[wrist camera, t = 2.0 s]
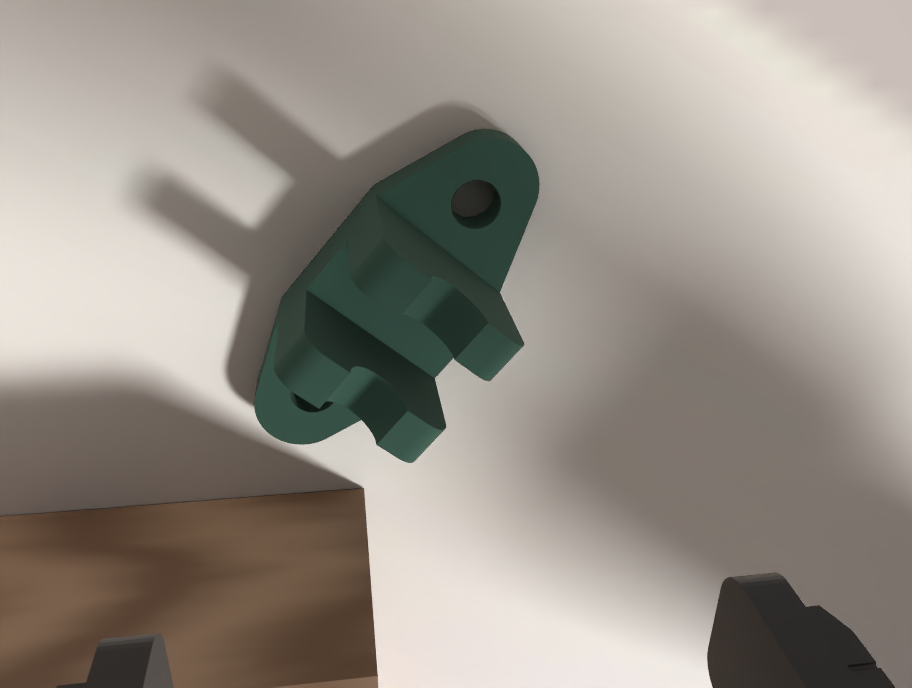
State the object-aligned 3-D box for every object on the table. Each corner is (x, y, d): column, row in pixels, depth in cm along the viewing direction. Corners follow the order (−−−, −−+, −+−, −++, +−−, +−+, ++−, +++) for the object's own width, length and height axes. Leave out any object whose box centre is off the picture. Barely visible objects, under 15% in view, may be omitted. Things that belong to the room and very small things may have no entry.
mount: (453, 85, 22) (486, 125, 17) (570, 189, 23) (627, 249, 19) (214, 377, 24) (190, 476, 20) (334, 450, 26) (336, 556, 22)
